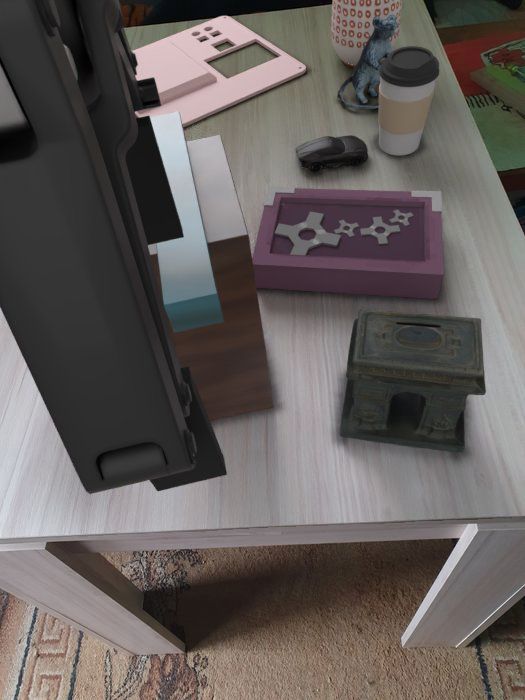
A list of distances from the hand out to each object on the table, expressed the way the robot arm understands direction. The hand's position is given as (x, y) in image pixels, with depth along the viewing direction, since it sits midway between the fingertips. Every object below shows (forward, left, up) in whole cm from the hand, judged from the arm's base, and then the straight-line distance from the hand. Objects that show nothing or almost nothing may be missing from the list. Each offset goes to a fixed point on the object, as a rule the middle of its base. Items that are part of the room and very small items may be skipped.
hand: (172, 337), depth 24 cm
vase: (+25, +96, -37) cm, 106 cm away
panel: (-10, +98, -37) cm, 106 cm away
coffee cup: (+27, +66, -37) cm, 81 cm away
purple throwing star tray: (+15, +41, -37) cm, 57 cm away
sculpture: (+23, +80, -37) cm, 91 cm away
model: (+18, +14, -37) cm, 44 cm away
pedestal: (-3, +22, -37) cm, 43 cm away
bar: (-3, +18, -9) cm, 21 cm away
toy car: (+15, +63, -37) cm, 75 cm away
